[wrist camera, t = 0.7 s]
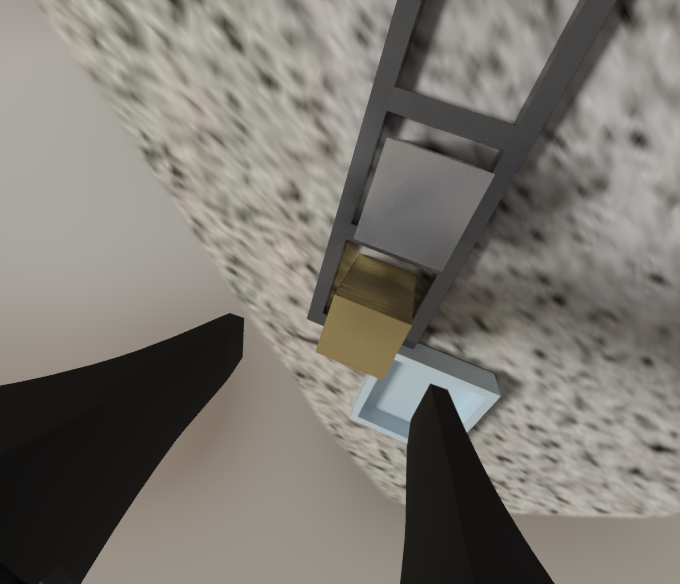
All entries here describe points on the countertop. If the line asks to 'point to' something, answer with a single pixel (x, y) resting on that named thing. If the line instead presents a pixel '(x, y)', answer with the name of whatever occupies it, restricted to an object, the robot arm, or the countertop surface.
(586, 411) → the countertop surface
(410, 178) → the grey block
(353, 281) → the tan wooden post
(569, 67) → the rail
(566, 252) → the countertop surface
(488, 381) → the parts tray
